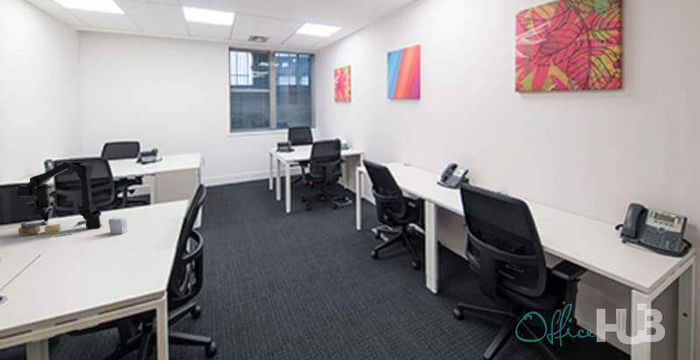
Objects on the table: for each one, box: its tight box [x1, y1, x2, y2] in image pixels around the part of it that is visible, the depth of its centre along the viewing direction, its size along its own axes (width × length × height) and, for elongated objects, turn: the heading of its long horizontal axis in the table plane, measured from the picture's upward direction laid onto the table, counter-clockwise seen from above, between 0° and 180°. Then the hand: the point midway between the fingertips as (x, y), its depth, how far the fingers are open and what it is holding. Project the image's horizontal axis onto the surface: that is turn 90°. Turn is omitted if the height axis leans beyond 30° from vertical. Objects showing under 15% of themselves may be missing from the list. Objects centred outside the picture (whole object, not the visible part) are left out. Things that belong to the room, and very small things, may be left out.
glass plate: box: [54, 229, 76, 238], centre depth 196 cm, size 8×7×1 cm
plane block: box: [17, 226, 41, 238], centre depth 195 cm, size 7×7×4 cm
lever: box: [20, 220, 48, 228], centre depth 194 cm, size 11×3×2 cm, turn 116°
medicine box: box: [108, 216, 129, 235], centre depth 198 cm, size 8×4×9 cm, turn 84°
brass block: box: [44, 223, 62, 235], centre depth 198 cm, size 6×4×4 cm
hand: (46, 221), depth 201 cm, fingers closed
